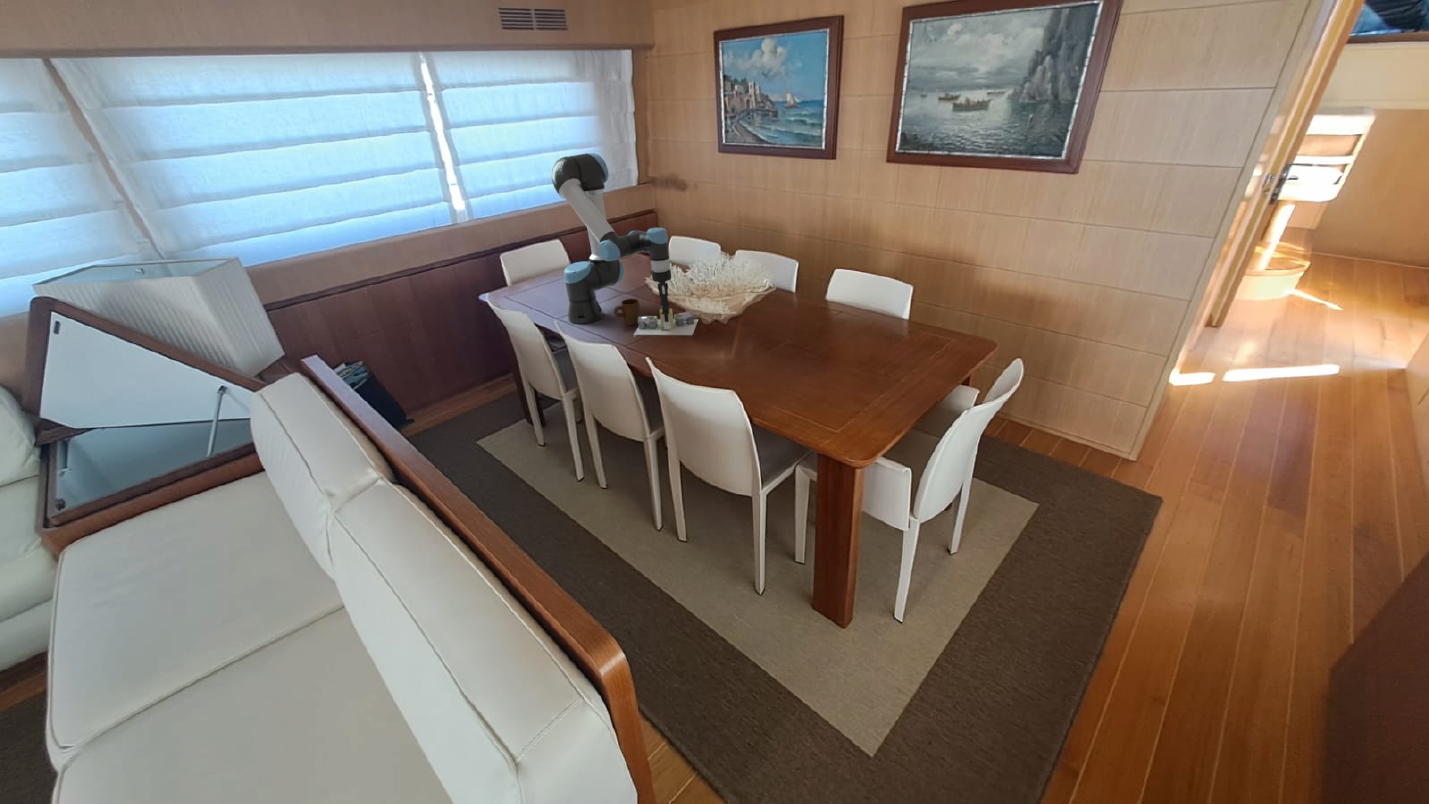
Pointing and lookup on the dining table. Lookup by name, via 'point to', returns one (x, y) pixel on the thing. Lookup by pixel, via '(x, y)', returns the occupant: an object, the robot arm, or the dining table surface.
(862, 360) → the dining table surface
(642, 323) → the grey mechanical block
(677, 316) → the grey metal block
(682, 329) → the rig board
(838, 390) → the dining table surface
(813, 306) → the dining table surface
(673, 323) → the coupler
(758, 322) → the dining table surface
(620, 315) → the mug
